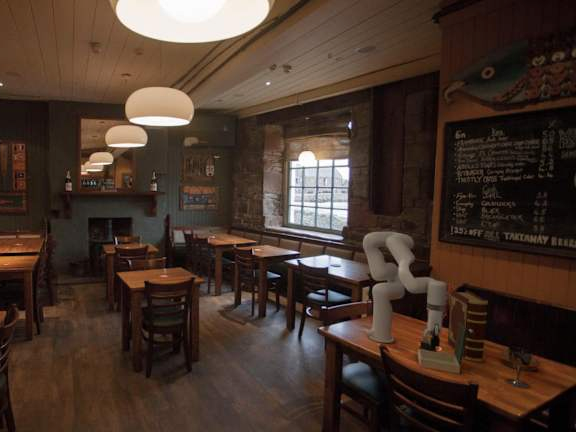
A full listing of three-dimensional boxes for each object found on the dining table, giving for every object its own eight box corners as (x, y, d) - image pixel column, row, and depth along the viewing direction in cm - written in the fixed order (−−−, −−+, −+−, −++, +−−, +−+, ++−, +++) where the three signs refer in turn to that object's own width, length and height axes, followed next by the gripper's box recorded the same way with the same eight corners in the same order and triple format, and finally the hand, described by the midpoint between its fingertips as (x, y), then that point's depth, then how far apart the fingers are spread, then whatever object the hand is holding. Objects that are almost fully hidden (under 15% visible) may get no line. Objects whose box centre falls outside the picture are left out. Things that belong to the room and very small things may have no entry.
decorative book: (485, 362, 189) (490, 302, 187) (467, 360, 191) (471, 301, 188) (463, 344, 211) (467, 289, 209) (447, 342, 213) (450, 289, 210)
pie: (528, 360, 192) (528, 350, 191) (548, 375, 177) (549, 364, 176) (491, 356, 196) (492, 347, 195) (508, 371, 181) (509, 360, 180)
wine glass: (501, 379, 173) (503, 346, 171) (517, 379, 173) (520, 346, 172) (517, 388, 165) (520, 354, 163) (535, 388, 165) (537, 354, 164)
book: (420, 366, 184) (420, 358, 184) (417, 356, 196) (418, 348, 195) (459, 373, 178) (460, 365, 177) (454, 362, 189) (455, 354, 189)
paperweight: (439, 346, 184) (440, 338, 184) (429, 345, 186) (430, 337, 185) (438, 343, 188) (438, 335, 187) (428, 342, 189) (429, 334, 189)
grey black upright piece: (438, 349, 204) (439, 329, 203) (428, 352, 200) (429, 331, 199) (427, 345, 209) (428, 325, 208) (418, 348, 205) (419, 327, 204)
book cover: (464, 330, 176) (477, 333, 174) (459, 321, 187) (471, 324, 185) (459, 364, 177) (472, 367, 175) (454, 353, 189) (466, 356, 187)
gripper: (424, 301, 194) (423, 337, 196) (429, 310, 179) (427, 349, 181) (442, 303, 191) (440, 339, 193) (448, 313, 176) (446, 352, 177)
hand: (434, 344), depth 187 cm, fingers closed on paperweight, 4 cm apart
